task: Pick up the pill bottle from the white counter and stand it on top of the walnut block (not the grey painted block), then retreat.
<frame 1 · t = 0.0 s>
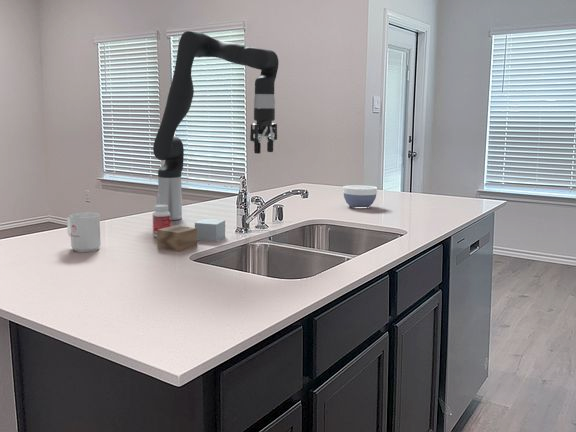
hand: (263, 152, 213), 29 cm above the worktop, fingers open, 8 cm apart
grey block: (210, 238, 205), on the worktop
bowl: (359, 207, 276), on the worktop
walnut block: (177, 246, 192), on the worktop
pill bottle: (161, 236, 207), on the worktop
mug: (82, 249, 187), on the worktop
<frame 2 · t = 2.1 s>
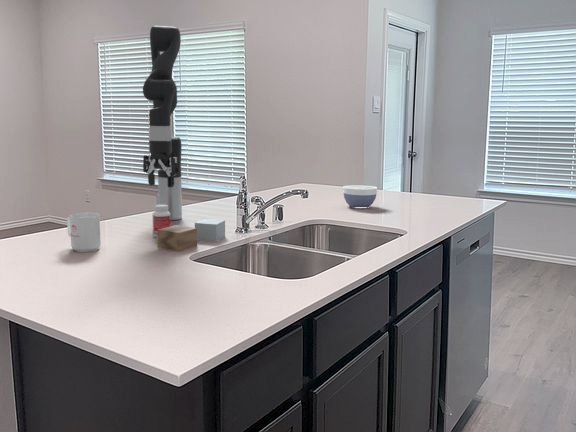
hand: (161, 186, 204), 18 cm above the worktop, fingers open, 8 cm apart
nothing on the worktop moved.
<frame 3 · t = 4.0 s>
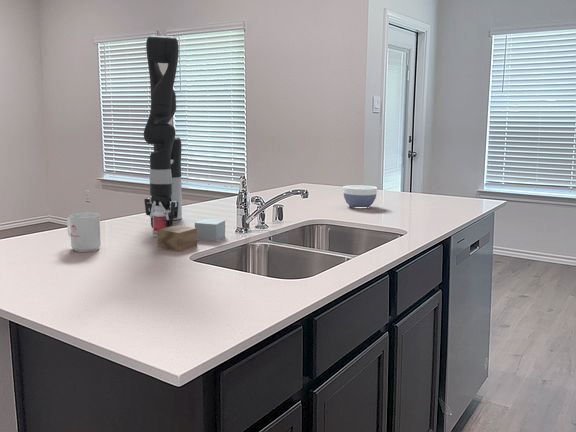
hand: (161, 228, 207), 3 cm above the worktop, fingers closed on pill bottle, 6 cm apart
pill bottle: (161, 236, 207), on the worktop, touching gripper
everything else where it was.
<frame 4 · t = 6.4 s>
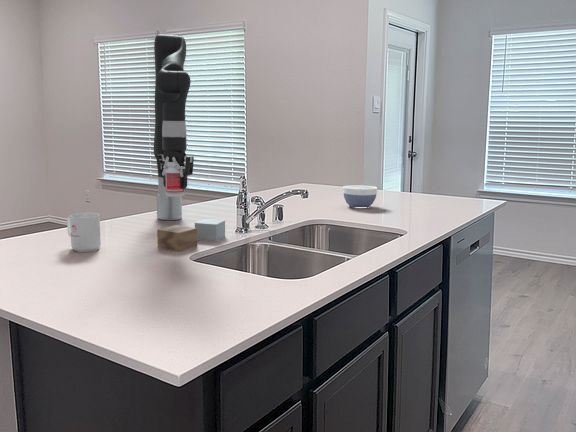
hand: (175, 187, 189), 19 cm above the worktop, fingers closed on pill bottle, 6 cm apart
pill bottle: (175, 196, 189), point 17 cm above the worktop, touching gripper
everything else where it was.
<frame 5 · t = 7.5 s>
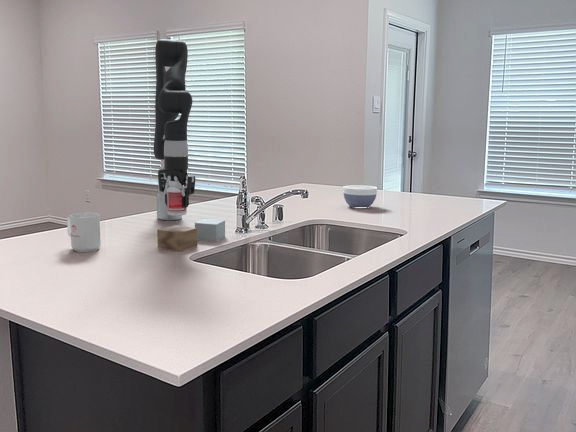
hand: (176, 206, 190), 13 cm above the worktop, fingers closed on pill bottle, 6 cm apart
pill bottle: (176, 215, 190), point 11 cm above the worktop, touching gripper
everything else where it was.
when the fingers open (10 cm above the worktop, at t = 8.7 s): pill bottle stays where it is, resting on walnut block.
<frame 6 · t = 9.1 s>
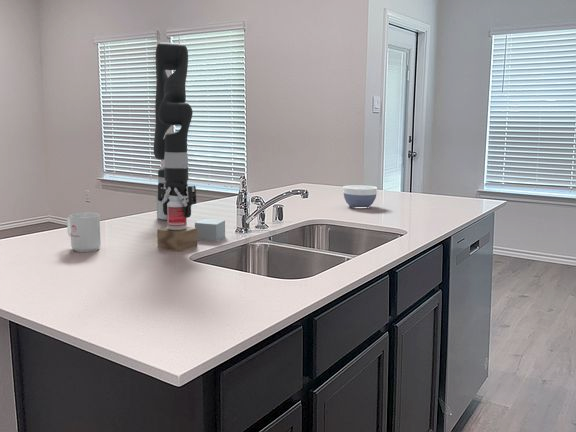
hand: (177, 215, 190), 10 cm above the worktop, fingers open, 8 cm apart
pill bottle: (177, 229, 191), point 6 cm above the worktop, touching walnut block
everything else where it was.
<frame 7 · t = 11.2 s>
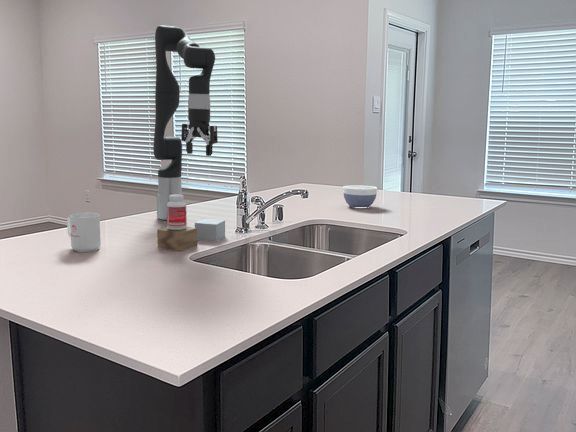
hand: (199, 154, 204), 29 cm above the worktop, fingers open, 8 cm apart
nothing on the worktop moved.
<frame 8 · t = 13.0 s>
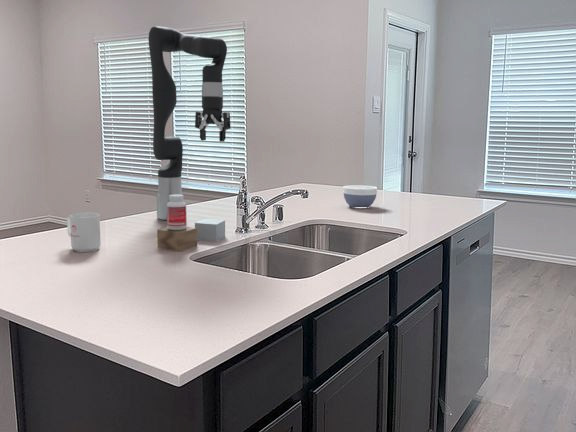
hand: (212, 140, 213), 33 cm above the worktop, fingers open, 8 cm apart
nothing on the worktop moved.
at the end: pill bottle 0.2 cm off-centre on the walnut block, point 5.8 cm above the walnut block's base; pill bottle tilted 0°; the gripper is holding nothing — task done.
